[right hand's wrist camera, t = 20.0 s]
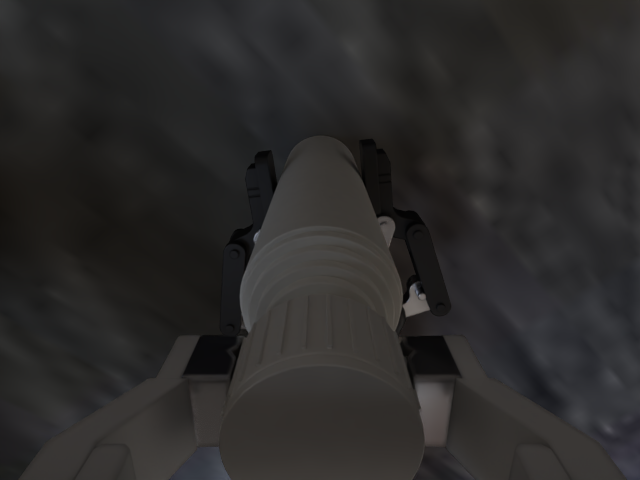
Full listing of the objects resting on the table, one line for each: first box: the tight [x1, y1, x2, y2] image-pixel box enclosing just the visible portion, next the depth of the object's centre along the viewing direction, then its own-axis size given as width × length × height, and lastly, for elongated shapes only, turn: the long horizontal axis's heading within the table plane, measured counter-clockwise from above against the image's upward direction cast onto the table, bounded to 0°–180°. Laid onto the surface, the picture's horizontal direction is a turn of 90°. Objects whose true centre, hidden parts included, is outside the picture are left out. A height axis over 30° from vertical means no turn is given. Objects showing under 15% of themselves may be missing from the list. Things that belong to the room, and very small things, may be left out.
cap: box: [219, 294, 425, 480], centre depth 9 cm, size 4×4×2 cm
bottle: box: [240, 135, 403, 333], centre depth 19 cm, size 5×5×23 cm
